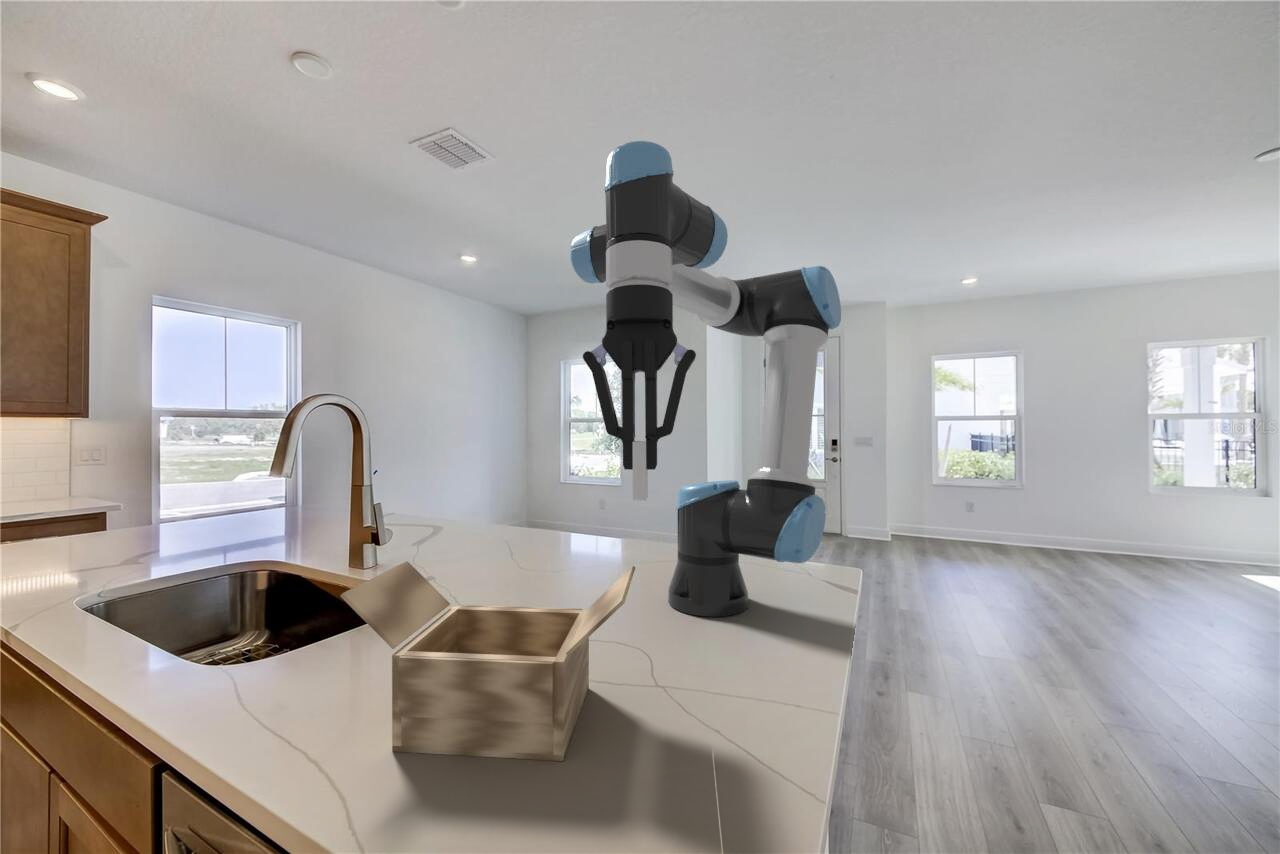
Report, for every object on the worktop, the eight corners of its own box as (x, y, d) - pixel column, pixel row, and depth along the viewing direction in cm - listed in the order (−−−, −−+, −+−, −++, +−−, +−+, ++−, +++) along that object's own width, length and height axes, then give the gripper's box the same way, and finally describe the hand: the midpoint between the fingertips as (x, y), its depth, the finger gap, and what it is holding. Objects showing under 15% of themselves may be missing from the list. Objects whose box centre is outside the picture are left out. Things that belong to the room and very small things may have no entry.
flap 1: (407, 560, 65) (405, 563, 65) (342, 593, 53) (339, 595, 53) (450, 603, 65) (448, 606, 65) (395, 646, 52) (392, 649, 52)
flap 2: (588, 608, 63) (590, 610, 63) (565, 653, 51) (568, 656, 51) (633, 565, 63) (635, 567, 63) (621, 600, 50) (624, 603, 50)
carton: (589, 685, 65) (589, 608, 65) (562, 764, 50) (562, 664, 50) (455, 680, 66) (455, 604, 66) (389, 754, 51) (389, 657, 51)
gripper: (696, 297, 60) (696, 494, 60) (588, 299, 61) (589, 493, 61) (698, 279, 52) (699, 504, 53) (575, 283, 53) (577, 503, 54)
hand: (640, 498), depth 57 cm, fingers closed
